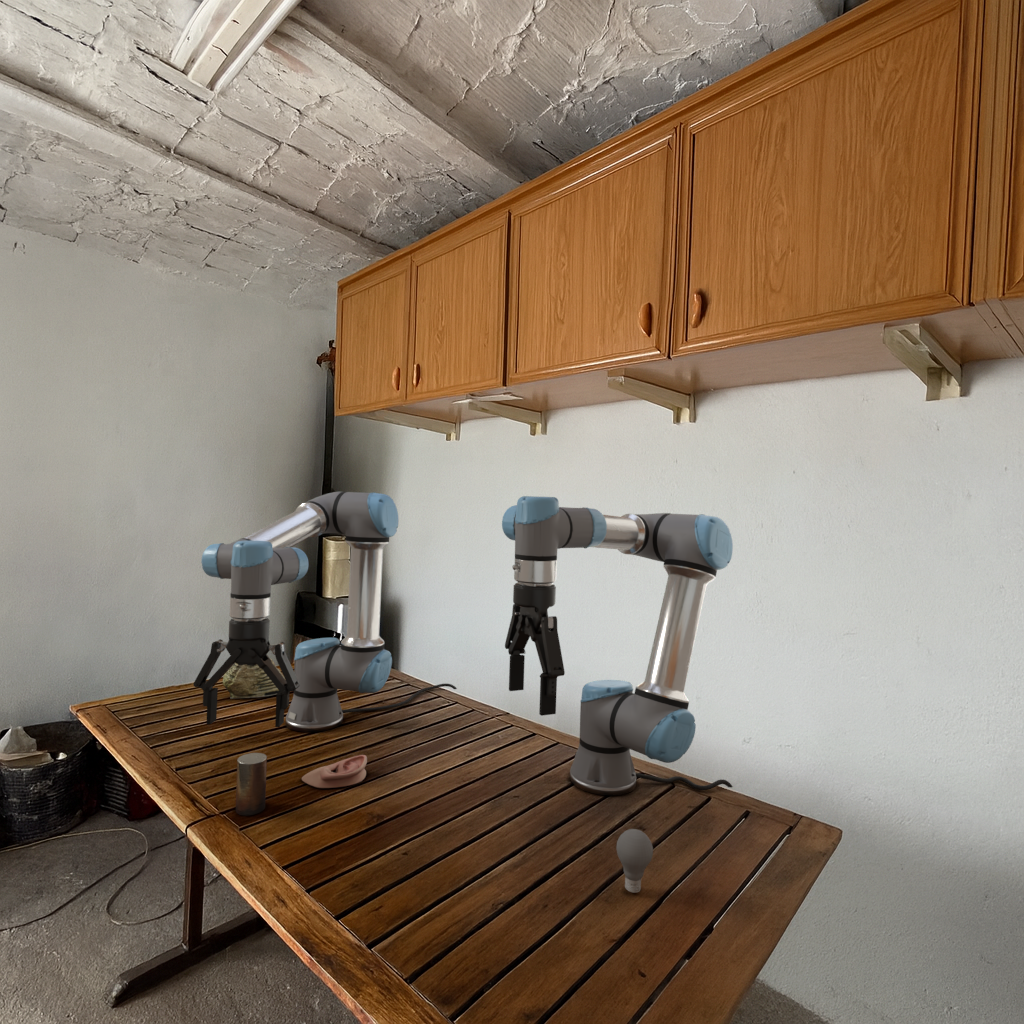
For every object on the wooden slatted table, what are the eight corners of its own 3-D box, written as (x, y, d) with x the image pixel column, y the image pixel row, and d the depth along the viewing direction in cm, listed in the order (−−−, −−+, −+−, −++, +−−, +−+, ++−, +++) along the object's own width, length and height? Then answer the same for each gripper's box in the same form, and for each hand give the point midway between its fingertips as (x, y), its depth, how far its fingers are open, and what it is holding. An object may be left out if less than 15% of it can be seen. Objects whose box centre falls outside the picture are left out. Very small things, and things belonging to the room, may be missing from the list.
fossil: (218, 695, 195) (220, 647, 195) (278, 685, 208) (279, 640, 207) (228, 703, 189) (230, 653, 188) (289, 692, 201) (290, 645, 201)
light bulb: (610, 879, 108) (613, 822, 108) (644, 879, 109) (647, 822, 109) (619, 902, 102) (622, 840, 102) (655, 901, 103) (658, 840, 103)
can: (233, 806, 128) (235, 755, 128) (262, 800, 131) (263, 750, 131) (238, 818, 124) (240, 765, 123) (267, 811, 127) (269, 760, 126)
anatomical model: (294, 766, 138) (320, 747, 150) (294, 784, 138) (320, 763, 150) (351, 774, 136) (373, 754, 147) (350, 792, 136) (372, 770, 147)
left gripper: (177, 618, 123) (173, 727, 123) (306, 624, 123) (301, 732, 123) (196, 612, 130) (192, 714, 131) (317, 617, 131) (313, 719, 131)
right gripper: (490, 574, 122) (487, 683, 123) (546, 594, 99) (541, 728, 100) (525, 573, 125) (522, 679, 126) (588, 593, 102) (583, 723, 103)
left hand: (245, 723), depth 127 cm, fingers open, 13 cm apart
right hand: (530, 701), depth 113 cm, fingers open, 13 cm apart
